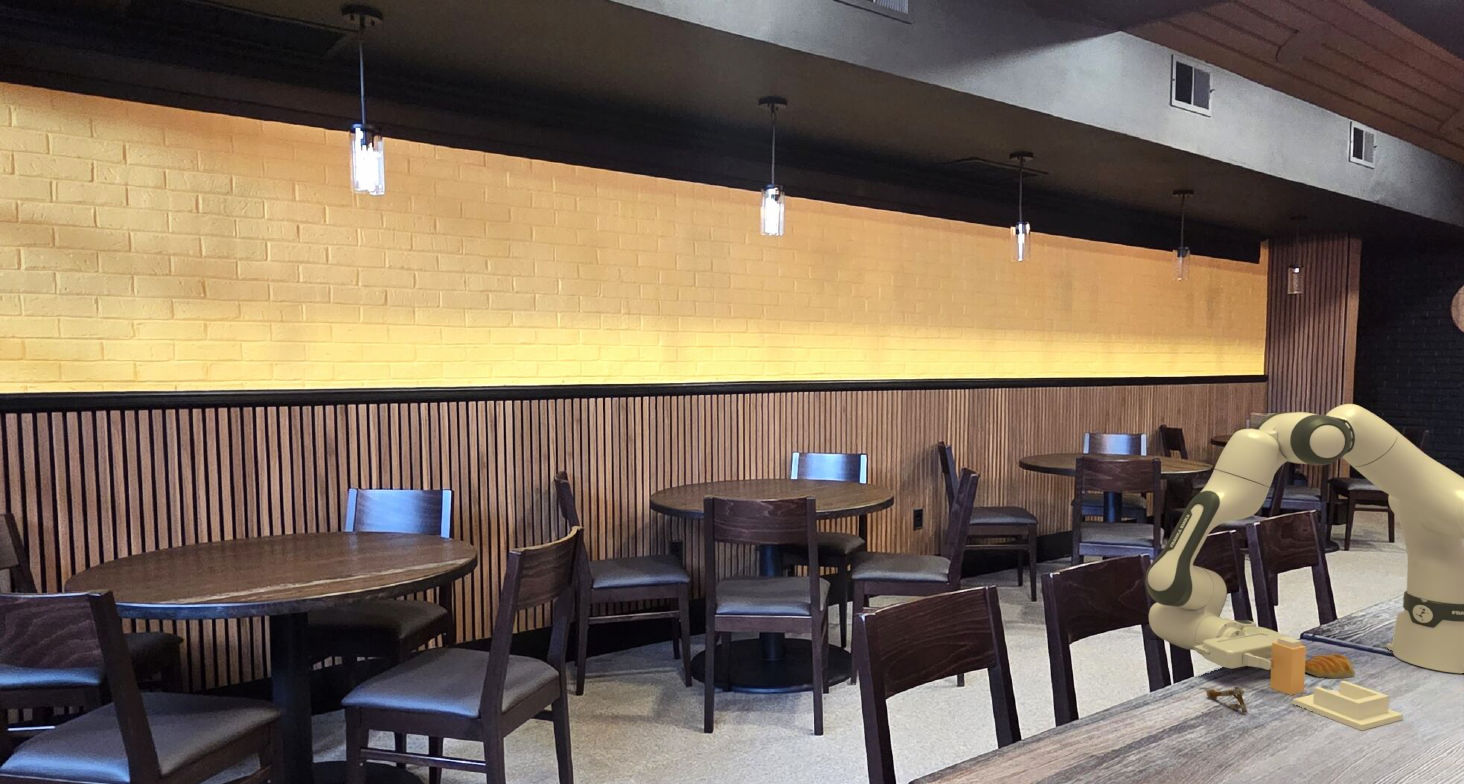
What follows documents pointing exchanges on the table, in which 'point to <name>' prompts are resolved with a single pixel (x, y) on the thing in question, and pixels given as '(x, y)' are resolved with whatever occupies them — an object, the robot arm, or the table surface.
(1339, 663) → the pastry
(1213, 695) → the wooden post with brackets
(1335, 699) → the holder
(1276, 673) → the block
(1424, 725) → the table surface
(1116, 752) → the table surface
